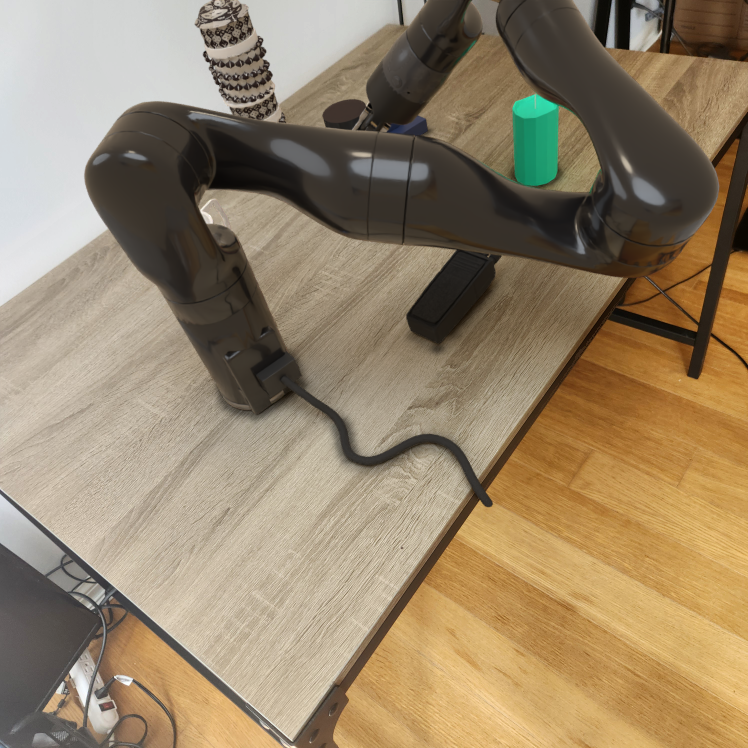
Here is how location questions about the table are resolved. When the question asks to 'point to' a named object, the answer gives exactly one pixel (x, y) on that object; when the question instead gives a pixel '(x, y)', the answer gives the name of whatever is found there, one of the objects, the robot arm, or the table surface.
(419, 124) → the dispenser
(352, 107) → the deodorant
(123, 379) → the table surface
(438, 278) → the walkie-talkie
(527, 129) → the candle
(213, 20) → the decorative candle
